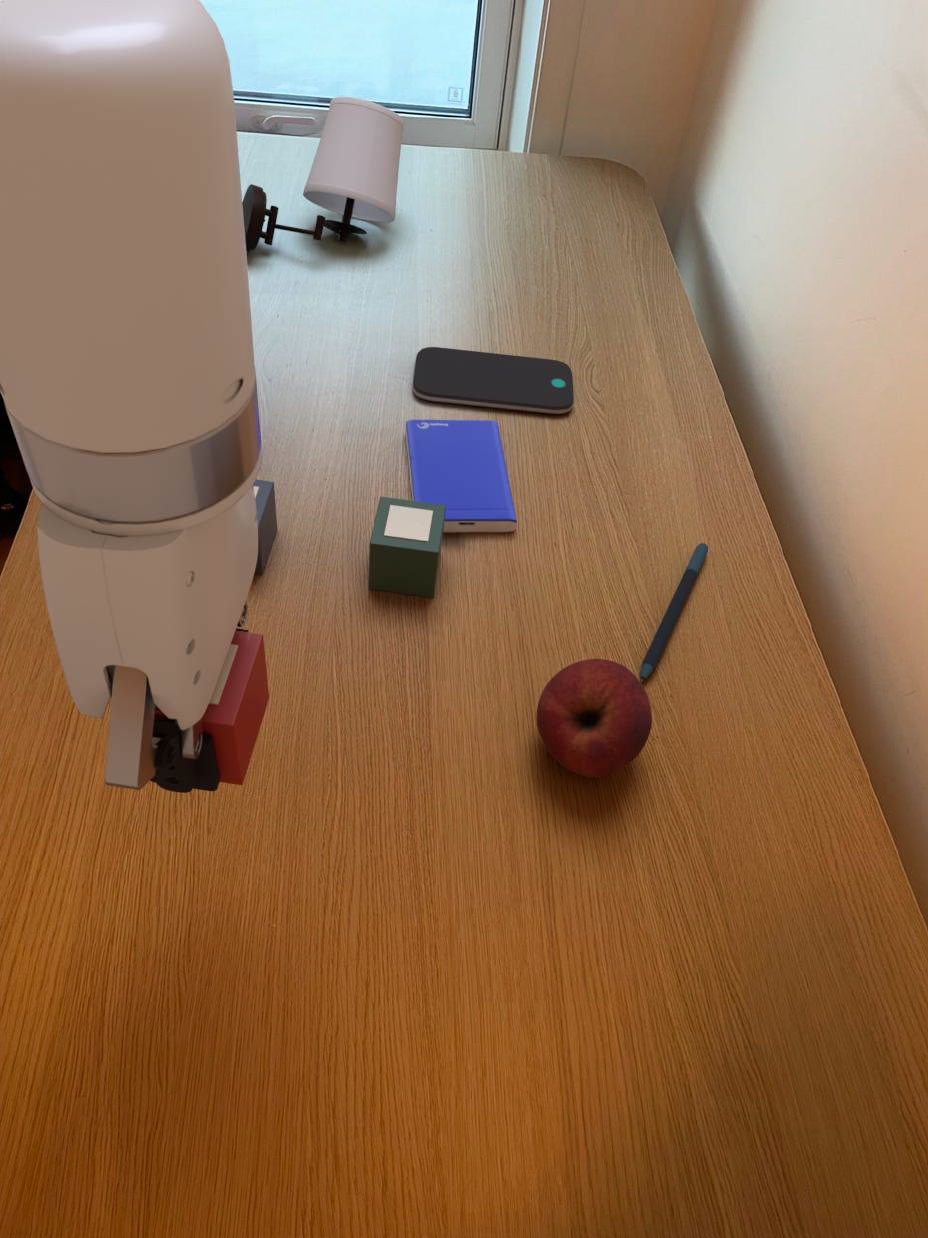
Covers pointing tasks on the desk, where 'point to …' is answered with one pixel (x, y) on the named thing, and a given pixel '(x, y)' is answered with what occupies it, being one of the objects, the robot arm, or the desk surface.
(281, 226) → the light fixture
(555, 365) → the smartphone
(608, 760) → the apple
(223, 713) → the red block
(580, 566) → the desk surface
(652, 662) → the pen
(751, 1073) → the desk surface
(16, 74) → the robot arm
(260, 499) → the slate block
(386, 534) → the green block
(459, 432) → the hard drive
